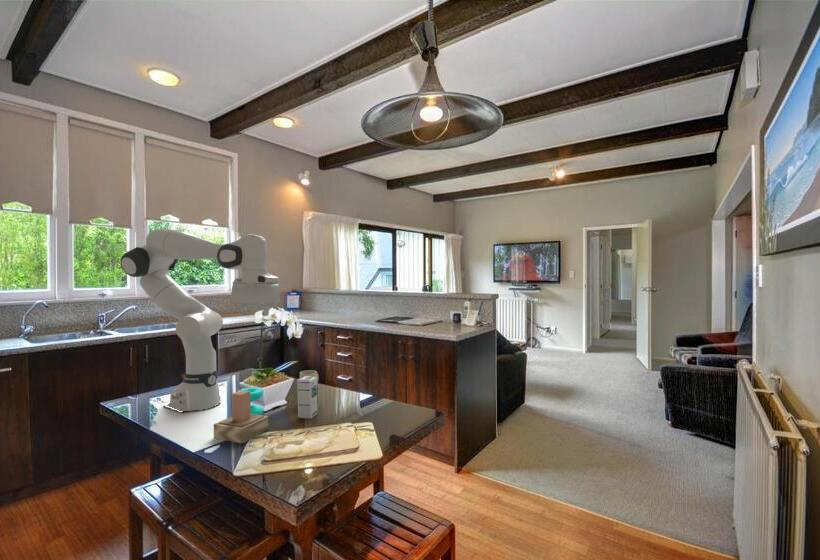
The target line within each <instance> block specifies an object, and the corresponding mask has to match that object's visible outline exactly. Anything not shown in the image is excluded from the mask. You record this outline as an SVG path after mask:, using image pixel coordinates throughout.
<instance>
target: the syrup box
mask: <svg viewBox="0 0 820 560" xmlns="http://www.w3.org/2000/svg"><path fill="white" fill-rule="evenodd" d="M298 379H299V378H298ZM298 379H297V380H296V381H297V384H296V385H297V386H296V387H297V388H296V389H297V417H298V418H299V419H313V418H314V417H315V416H316V415H317V414H319V396H318V394H319V391H318V385H319V384H318V381H317V377H313V376H306V377H305V376H304V377H303V378H301V379H299V380H298Z"/></svg>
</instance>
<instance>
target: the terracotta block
mask: <svg viewBox="0 0 820 560" xmlns="http://www.w3.org/2000/svg"><path fill="white" fill-rule="evenodd" d="M240 390H241V389H240ZM237 391H238V392H237ZM237 391H235V392H233V393H231V407H232V408H231V412H232V413H231V414H232V416H231V417H232V420H233V421H239V422H242V421H245V420H247V419H249V418H250V405H251V402H250V391H242V390H241V391H239V390H237Z"/></svg>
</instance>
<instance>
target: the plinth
mask: <svg viewBox="0 0 820 560" xmlns="http://www.w3.org/2000/svg"><path fill="white" fill-rule="evenodd" d="M268 430H269V415H264V414H262V415H256V414H250V418H249V419H247V420H245V421H242V422H239V421H233V420H232V416H230V417H227V418H225V419H222V420H220V421H218V422H216V423H214V424H213V439H216V440H220V441H221V440H222V441H227V442H233V443H238V444H244V443H247V442H248V441H249V440H251V439H254V438H255V437H258V436H259V435H261V434H263V433H265V432H266V431H268Z"/></svg>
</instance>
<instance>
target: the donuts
mask: <svg viewBox="0 0 820 560" xmlns="http://www.w3.org/2000/svg"><path fill="white" fill-rule="evenodd" d="M241 390H242V391H250V403H251V402H255V401H257V400H259V399H261V398H262V397H263V396H264V391H263V389H262V388H260V387H246V388H245V387H244V388H242V389H239V390H237V391H236V392H238V391H241ZM263 413H264V408H263V407H262V406H261V405H258V404H250V414H256V415H263Z"/></svg>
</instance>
